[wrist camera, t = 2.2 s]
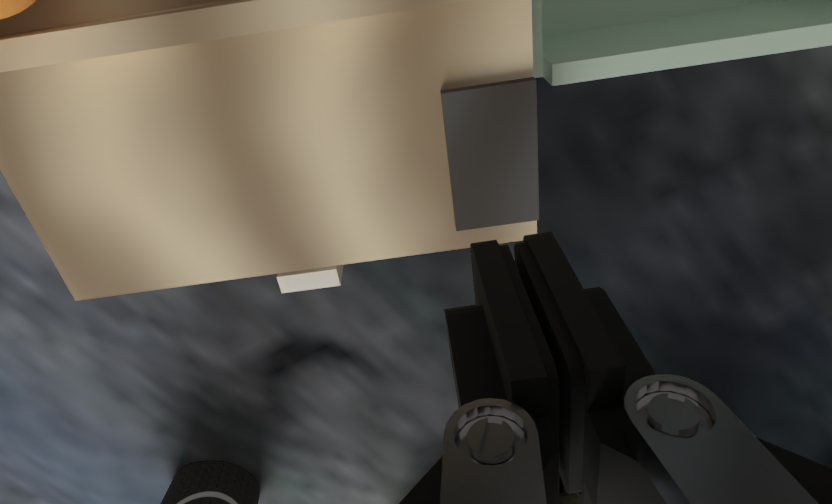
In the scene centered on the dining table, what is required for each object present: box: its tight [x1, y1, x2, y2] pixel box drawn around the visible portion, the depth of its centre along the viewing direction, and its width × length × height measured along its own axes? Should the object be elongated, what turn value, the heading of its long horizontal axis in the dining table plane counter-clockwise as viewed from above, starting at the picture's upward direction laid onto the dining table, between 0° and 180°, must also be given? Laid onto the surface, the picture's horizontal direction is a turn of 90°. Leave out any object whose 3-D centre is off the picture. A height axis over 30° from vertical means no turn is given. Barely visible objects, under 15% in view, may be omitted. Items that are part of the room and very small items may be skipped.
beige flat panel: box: [0, 0, 539, 301], centre depth 16 cm, size 18×16×3 cm
